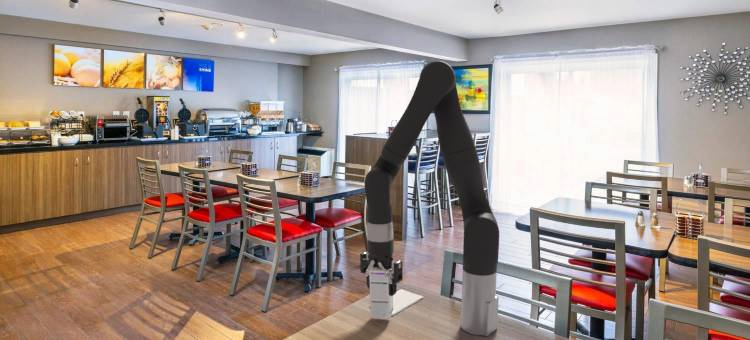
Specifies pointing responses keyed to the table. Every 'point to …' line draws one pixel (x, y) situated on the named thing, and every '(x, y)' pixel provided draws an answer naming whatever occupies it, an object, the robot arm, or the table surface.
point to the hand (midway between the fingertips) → (381, 291)
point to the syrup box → (380, 294)
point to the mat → (404, 300)
